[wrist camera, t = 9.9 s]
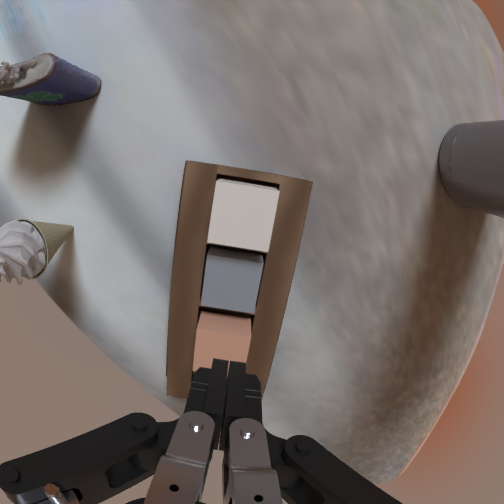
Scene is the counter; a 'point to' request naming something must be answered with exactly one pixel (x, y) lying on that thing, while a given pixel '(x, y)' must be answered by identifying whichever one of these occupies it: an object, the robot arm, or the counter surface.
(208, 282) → the slate key
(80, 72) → the flask
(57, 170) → the counter surface
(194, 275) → the brown wooden tray
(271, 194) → the ivory key
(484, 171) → the robot arm
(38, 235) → the ice cream cone
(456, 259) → the counter surface
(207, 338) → the terracotta key
